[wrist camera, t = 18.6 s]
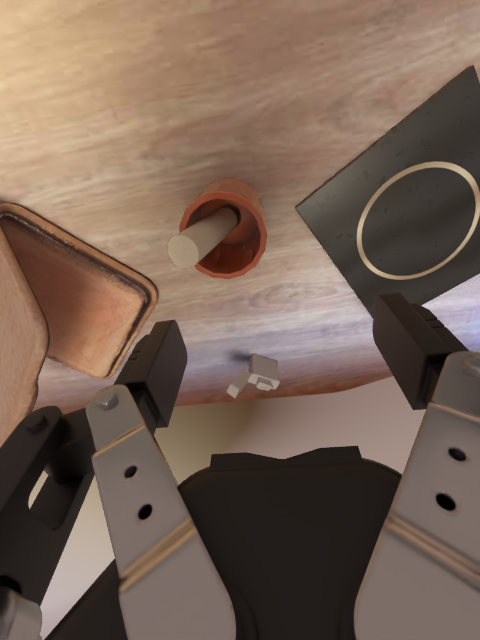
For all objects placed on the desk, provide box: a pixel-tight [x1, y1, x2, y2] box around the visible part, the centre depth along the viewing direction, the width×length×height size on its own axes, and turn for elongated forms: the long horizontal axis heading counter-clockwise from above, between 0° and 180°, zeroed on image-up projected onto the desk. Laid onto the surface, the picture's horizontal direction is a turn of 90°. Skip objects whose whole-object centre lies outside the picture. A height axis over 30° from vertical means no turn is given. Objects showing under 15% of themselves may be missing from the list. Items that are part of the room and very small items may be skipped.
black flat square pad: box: [295, 65, 480, 319], centre depth 32 cm, size 20×18×1 cm
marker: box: [167, 204, 241, 268], centre depth 26 cm, size 3×3×12 cm
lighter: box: [227, 354, 280, 398], centre depth 40 cm, size 7×2×8 cm, turn 70°
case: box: [0, 203, 158, 447], centre depth 32 cm, size 20×21×16 cm
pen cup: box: [180, 178, 267, 279], centre depth 28 cm, size 7×7×9 cm
